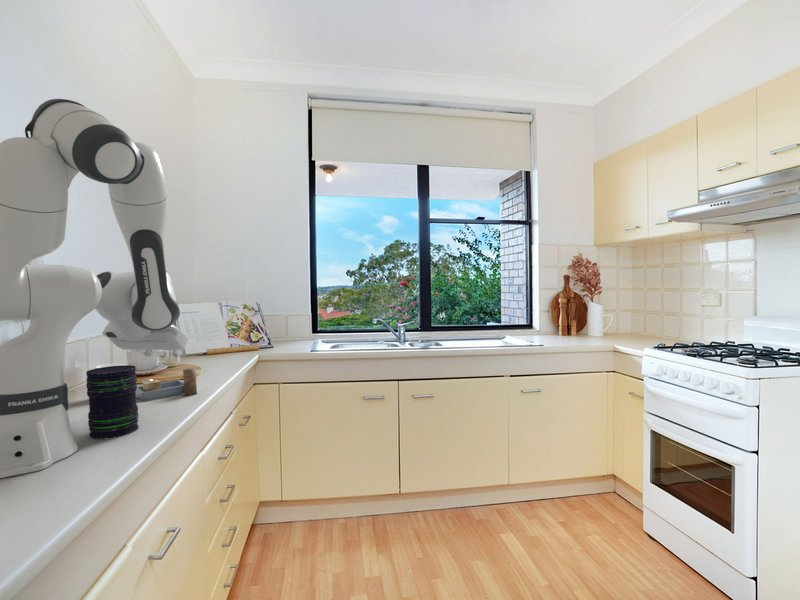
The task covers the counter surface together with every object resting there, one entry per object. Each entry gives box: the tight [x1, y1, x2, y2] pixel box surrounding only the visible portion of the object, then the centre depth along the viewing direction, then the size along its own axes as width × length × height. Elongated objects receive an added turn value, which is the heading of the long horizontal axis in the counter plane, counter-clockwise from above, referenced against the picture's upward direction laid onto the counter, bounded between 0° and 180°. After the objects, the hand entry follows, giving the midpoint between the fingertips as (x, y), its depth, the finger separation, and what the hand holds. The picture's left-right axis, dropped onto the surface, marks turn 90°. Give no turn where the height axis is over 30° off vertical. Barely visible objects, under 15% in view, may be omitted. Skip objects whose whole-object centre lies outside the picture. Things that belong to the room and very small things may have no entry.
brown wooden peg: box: [182, 367, 198, 397], centre depth 136 cm, size 4×4×8 cm
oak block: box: [142, 379, 162, 392], centre depth 133 cm, size 4×4×4 cm
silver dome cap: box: [141, 378, 154, 385], centre depth 136 cm, size 3×3×4 cm
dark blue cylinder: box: [85, 364, 139, 440], centre depth 101 cm, size 10×10×15 cm
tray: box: [136, 379, 184, 402], centre depth 137 cm, size 14×11×3 cm
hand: (164, 354), depth 123 cm, fingers open, 8 cm apart
